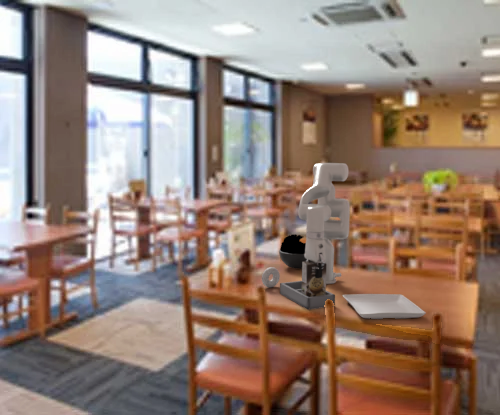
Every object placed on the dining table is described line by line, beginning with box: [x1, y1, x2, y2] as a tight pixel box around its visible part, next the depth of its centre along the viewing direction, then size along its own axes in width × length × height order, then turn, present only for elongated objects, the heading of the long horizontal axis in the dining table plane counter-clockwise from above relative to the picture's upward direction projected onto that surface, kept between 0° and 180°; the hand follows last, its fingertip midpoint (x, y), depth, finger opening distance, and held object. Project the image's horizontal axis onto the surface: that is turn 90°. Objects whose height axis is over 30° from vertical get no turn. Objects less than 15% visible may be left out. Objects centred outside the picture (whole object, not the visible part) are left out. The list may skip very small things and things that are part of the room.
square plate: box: [342, 293, 427, 320], centre depth 214 cm, size 27×27×4 cm
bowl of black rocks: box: [278, 233, 306, 270], centre depth 286 cm, size 20×20×19 cm
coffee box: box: [301, 261, 327, 297], centre depth 221 cm, size 9×6×16 cm
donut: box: [261, 266, 280, 288], centre depth 247 cm, size 10×4×10 cm, turn 123°
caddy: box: [279, 280, 336, 310], centre depth 228 cm, size 26×13×5 cm, turn 24°
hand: (314, 275), depth 221 cm, fingers closed on coffee box, 6 cm apart
